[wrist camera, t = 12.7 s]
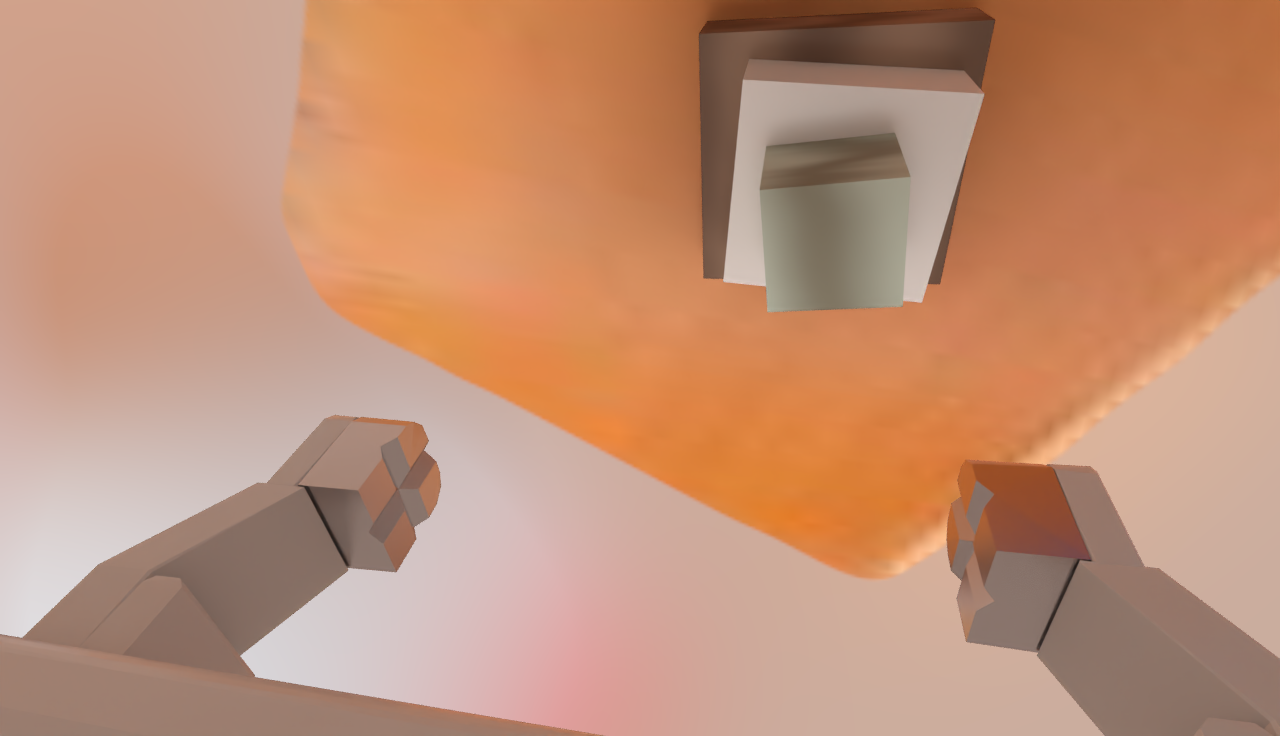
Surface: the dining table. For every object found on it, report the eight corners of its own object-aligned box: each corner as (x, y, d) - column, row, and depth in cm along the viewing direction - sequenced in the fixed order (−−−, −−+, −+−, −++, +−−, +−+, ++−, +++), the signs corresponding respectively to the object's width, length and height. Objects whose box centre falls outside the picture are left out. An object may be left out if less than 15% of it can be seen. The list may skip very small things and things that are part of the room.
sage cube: (894, 132, 26) (910, 176, 22) (889, 249, 29) (902, 306, 25) (766, 146, 28) (759, 189, 24) (772, 256, 30) (767, 312, 26)
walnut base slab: (974, 5, 30) (995, 19, 27) (927, 250, 37) (939, 284, 34) (708, 19, 32) (699, 34, 29) (711, 246, 39) (703, 278, 36)
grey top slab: (964, 70, 28) (984, 94, 25) (910, 262, 33) (921, 302, 30) (749, 58, 29) (742, 79, 26) (730, 245, 35) (723, 281, 32)
